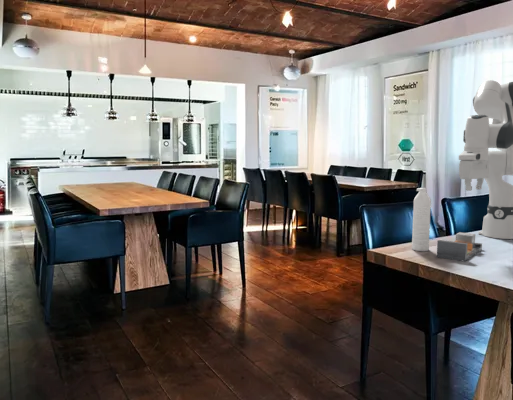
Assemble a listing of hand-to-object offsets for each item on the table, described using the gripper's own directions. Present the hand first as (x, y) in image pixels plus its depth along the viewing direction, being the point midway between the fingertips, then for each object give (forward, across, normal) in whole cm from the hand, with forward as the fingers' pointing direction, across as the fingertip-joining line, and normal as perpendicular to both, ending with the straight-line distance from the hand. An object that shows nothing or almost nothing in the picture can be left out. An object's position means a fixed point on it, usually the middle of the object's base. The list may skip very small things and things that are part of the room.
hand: (473, 190), depth 184 cm
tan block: (+22, +6, 0) cm, 23 cm away
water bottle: (+24, +20, -12) cm, 33 cm away
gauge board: (+24, +12, +1) cm, 27 cm away
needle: (+22, +10, +1) cm, 24 cm away
